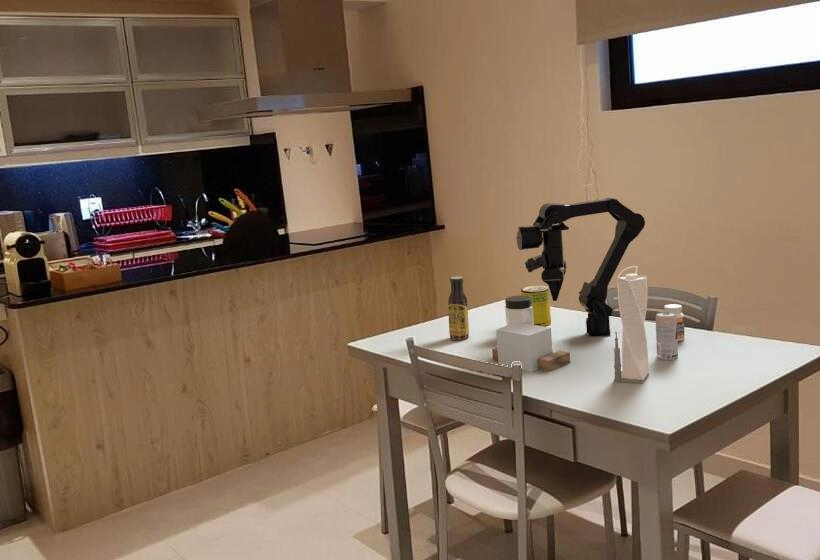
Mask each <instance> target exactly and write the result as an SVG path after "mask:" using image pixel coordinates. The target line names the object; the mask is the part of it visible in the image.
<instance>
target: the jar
mask: <svg viewBox="0 0 820 560" xmlns="http://www.w3.org/2000/svg"><path fill="white" fill-rule="evenodd" d="M504 301H505V302H504V303H505V306H504V311H505V323H506V324H505V325H506V326H508V325H511V324H514V323H517V322H519V323H525V324H531V325H534V319H533V307H532V300H531V297H530V296H524V295H521V294H519V295H512V296H511V295H510V296H508V297H506V298H505V299H504Z"/></svg>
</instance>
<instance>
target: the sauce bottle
mask: <svg viewBox="0 0 820 560" xmlns="http://www.w3.org/2000/svg"><path fill="white" fill-rule="evenodd" d="M450 288H451V290H450V294H449V296H448V299H447V300H448V302H447V303H448V305H447V308H448V309H447V310H448V331H449V338H450V339H451V340H452V341H464V340H467V339H468V338H469V336H470V327H469V326H470V325H469V307H468V298H467V296H466V294H465V293H464V277H463V276H450Z"/></svg>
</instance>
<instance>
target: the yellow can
mask: <svg viewBox="0 0 820 560" xmlns="http://www.w3.org/2000/svg"><path fill="white" fill-rule="evenodd" d="M520 293H521V294H520V295H524V296H530V297H531V300H532V307H533V319H534V325H537V326H543V327H549V326H551V325H552V317H551V316H552V315H551V301H550V299H551V298H550V289H549V286H548V285H547V286H546V285H529V286H525V287H522V288H521V289H520Z"/></svg>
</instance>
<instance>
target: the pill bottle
mask: <svg viewBox="0 0 820 560" xmlns="http://www.w3.org/2000/svg"><path fill="white" fill-rule="evenodd" d="M663 307H664V312H673V313H676V316H677V339H678V342H681V341H683V340H684V339H685V315H684V313H683V312H682V310H683V307H682V305H681V304H676V303H673V304H672V303H671V304H669V303H668V304H665V305H664V306H663Z"/></svg>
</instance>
